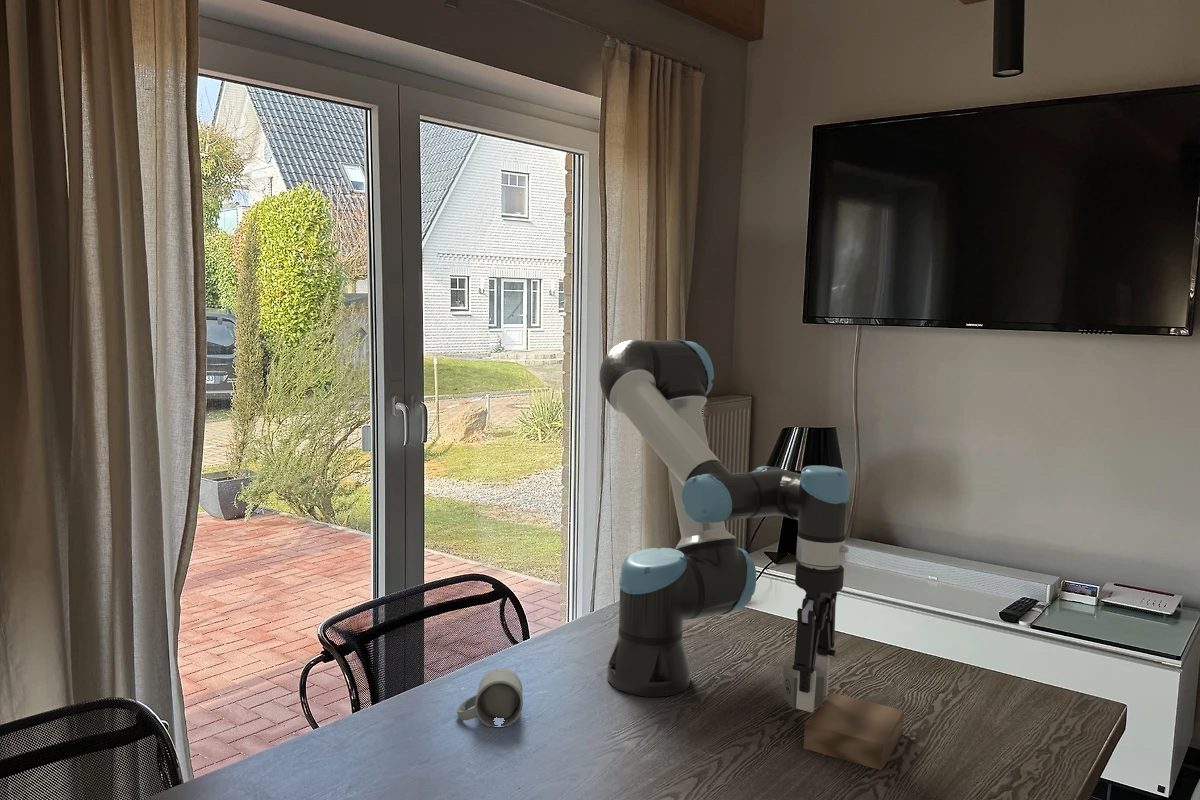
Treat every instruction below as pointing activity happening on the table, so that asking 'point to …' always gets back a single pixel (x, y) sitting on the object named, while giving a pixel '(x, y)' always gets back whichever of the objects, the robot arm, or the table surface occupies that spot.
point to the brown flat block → (854, 730)
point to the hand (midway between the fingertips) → (812, 701)
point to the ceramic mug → (495, 699)
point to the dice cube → (791, 686)
